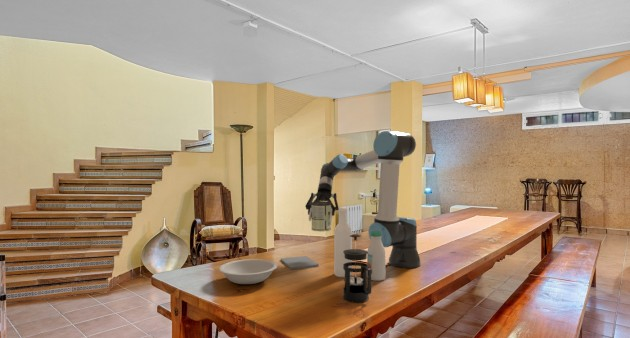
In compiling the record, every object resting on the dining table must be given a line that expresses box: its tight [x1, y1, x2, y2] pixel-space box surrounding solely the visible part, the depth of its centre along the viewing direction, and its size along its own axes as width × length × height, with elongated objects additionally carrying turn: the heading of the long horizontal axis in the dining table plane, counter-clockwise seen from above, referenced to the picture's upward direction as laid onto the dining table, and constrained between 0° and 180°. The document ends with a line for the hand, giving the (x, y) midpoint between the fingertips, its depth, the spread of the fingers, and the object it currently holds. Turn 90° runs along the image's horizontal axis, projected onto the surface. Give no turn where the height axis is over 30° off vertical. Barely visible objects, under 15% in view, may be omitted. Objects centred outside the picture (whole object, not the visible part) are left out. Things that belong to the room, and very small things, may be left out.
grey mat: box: [280, 255, 320, 270], centre depth 177 cm, size 18×14×1 cm
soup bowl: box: [218, 258, 278, 285], centre depth 148 cm, size 24×24×7 cm
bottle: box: [333, 206, 353, 278], centre depth 157 cm, size 8×8×30 cm
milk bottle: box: [366, 231, 387, 282], centre depth 152 cm, size 8×8×20 cm
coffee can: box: [311, 201, 332, 232], centre depth 182 cm, size 10×10×14 cm
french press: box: [342, 233, 372, 304], centre depth 128 cm, size 12×9×23 cm
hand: (320, 219), depth 179 cm, fingers closed on coffee can, 10 cm apart
